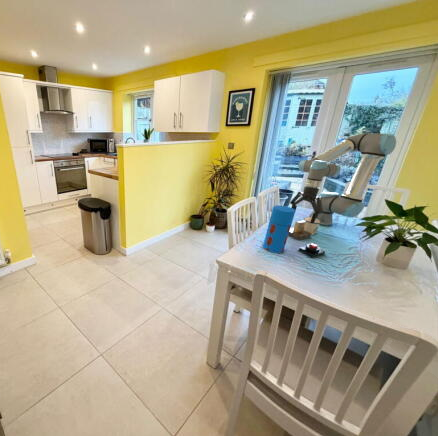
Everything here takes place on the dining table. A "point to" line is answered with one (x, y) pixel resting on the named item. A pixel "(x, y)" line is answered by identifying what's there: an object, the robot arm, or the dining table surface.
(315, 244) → the button
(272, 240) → the thermos
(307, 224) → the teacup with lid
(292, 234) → the brown flat piece
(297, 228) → the tan square slab
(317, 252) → the button box
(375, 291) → the dining table surface
